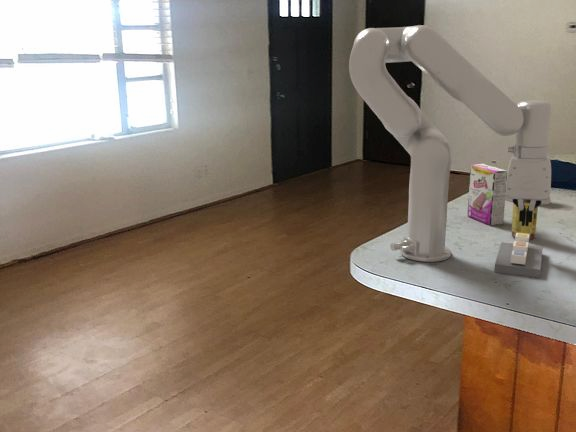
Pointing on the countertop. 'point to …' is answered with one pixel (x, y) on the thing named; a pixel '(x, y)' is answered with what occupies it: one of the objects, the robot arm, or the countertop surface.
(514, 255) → the key blue
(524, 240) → the key mustard
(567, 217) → the countertop surface
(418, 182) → the robot arm
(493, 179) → the candy bar box
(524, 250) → the key terracotta
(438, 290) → the countertop surface
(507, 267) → the keypad board
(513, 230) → the sauce bottle
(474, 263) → the countertop surface
